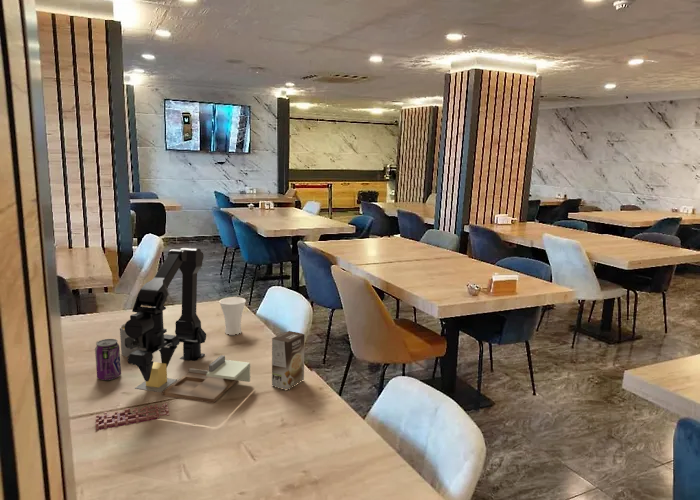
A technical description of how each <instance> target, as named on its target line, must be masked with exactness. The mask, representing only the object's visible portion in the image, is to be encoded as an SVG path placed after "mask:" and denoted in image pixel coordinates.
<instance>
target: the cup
mask: <svg viewBox="0 0 700 500" xmlns="http://www.w3.org/2000/svg"><path fill="white" fill-rule="evenodd" d="M246 301H247V300H246V299H245V297H244V298H243V297H239V296H228V297H223V298H222V299H220V300H219V301H218V303H219V304H220V308H221V310H222V313H223V318H224V324H225V328H224V333H226V334H225V335H227V334H229V335H228V336H236V335H235V334H237V335H240V334H241V333H242V316H243V313H244V308H245V306H246V305H245V304H246ZM239 333H240V334H239Z"/></svg>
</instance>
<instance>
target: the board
mask: <svg viewBox="0 0 700 500" xmlns="http://www.w3.org/2000/svg"><path fill="white" fill-rule="evenodd" d="M207 372H209V369H208V370H207V369H200V368H199V369H198V368H192V367H190V368H188V372H187V373H185V374H184V375H182V376H181V377H180V378H178V379H177V381H175V382H174V383H173V384H171V385H170V386H169V387H167V388H166V389H165V390H163V391H162V392H161V395H162V396H166V397H172V398H173V397H174V398H178V399H184V400H186V399H187V400H193V401H201V402H207V403H215V402H216V401H218V399H220V398H221V397H222V395H224V394H225V393H226V392H227V391H228V390H229V389H231V387H232V386H234V385H235V384H236V383H237V382H239V381H238V380H231V379H223V378H218V377H211V376H206V373H207Z"/></svg>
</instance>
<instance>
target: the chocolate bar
mask: <svg viewBox="0 0 700 500" xmlns="http://www.w3.org/2000/svg"><path fill="white" fill-rule="evenodd" d="M158 406H159V405H158V404H154V405H151V404H150V405H149V407H148V405H145V406H144V407H142V409H140V411H139V409H138V407H135V408H133V409H132V412H131V408H130V407H128V408H124V410H123V411H119V412H118V411H114V413H112V412H111V413H109V414H108V412H107V411H105V412H103V415H102V414H96V415H95V431H99V429H100V430H105V429H110V428H116V427H121V426H126V425H133V424H137V423H144V422H150V421H153V420H159V419H162V416H166V417H167V416H170V412H169V410H170V409H169V405H168V403H167V402H164V403H163V404H161V406H159V407H158ZM143 410H144V411H143ZM159 410H160V411H159ZM138 411H139V412H138ZM133 412H134V413H133ZM152 413H155V414H152ZM150 414H151V415H150ZM160 416H161V417H160Z"/></svg>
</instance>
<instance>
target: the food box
mask: <svg viewBox="0 0 700 500" xmlns="http://www.w3.org/2000/svg"><path fill="white" fill-rule="evenodd" d="M305 336H306V335H305V334H304V333H301V332H298V331H291V330H289V331H286V332H284V333H282V334H279V335H276V336H274V337H272V338H271V386H272V385H273V386H276V387H279V388H283V389H289V388H291V387H292V386H294V385H296V384H297V383H299V382H300V381H302V380H304V381H305ZM299 384H300V383H299ZM273 386H272V387H273ZM296 386H297V385H296ZM276 387H275V388H276ZM294 387H295V386H294ZM279 388H278V389H279ZM291 389H292V388H291ZM289 390H290V389H289Z"/></svg>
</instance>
